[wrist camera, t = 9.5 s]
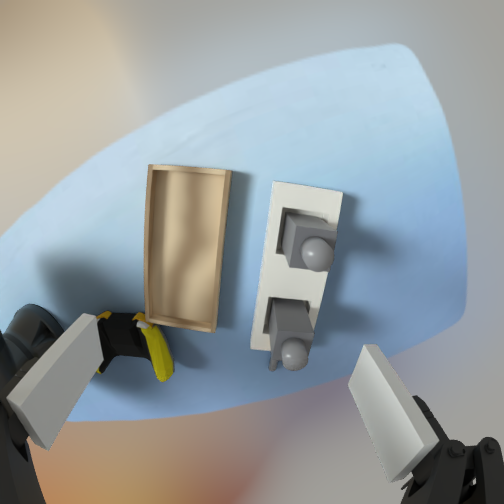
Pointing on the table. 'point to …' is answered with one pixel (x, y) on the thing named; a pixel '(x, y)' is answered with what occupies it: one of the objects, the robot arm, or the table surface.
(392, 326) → the table surface
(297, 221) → the plug
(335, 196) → the strip
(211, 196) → the tray
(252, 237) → the table surface
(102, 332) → the gaming controller
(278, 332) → the twin plug
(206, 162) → the table surface
